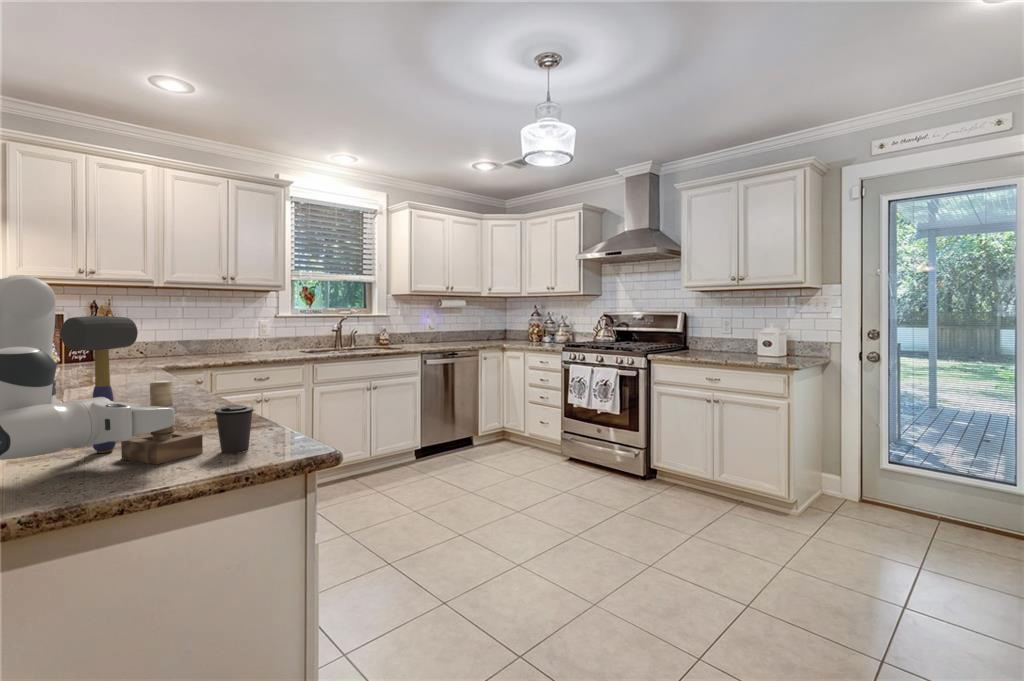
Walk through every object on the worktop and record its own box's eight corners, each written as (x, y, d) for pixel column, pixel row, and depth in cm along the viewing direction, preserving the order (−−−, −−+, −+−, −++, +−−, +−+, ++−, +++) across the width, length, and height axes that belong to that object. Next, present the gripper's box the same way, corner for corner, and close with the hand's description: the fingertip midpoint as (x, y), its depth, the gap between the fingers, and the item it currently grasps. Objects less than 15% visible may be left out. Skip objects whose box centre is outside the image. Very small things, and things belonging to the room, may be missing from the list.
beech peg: (146, 452, 110) (144, 382, 110) (165, 448, 114) (164, 380, 114) (159, 454, 109) (157, 383, 108) (178, 450, 113) (177, 381, 112)
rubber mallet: (89, 461, 107) (84, 315, 106) (61, 458, 109) (55, 315, 108) (144, 446, 119) (140, 315, 118) (118, 444, 121) (114, 315, 120)
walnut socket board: (121, 458, 109) (121, 440, 109) (168, 447, 118) (168, 430, 118) (157, 464, 105) (156, 445, 105) (202, 452, 114) (202, 434, 114)
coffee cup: (212, 457, 111) (211, 410, 110) (215, 448, 118) (214, 404, 118) (254, 453, 114) (254, 408, 114) (255, 444, 122) (254, 402, 121)
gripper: (61, 432, 103) (134, 419, 116) (129, 442, 96) (199, 427, 108) (60, 400, 103) (133, 391, 116) (128, 408, 95) (198, 397, 108)
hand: (166, 409), depth 112 cm, fingers closed on beech peg, 4 cm apart
